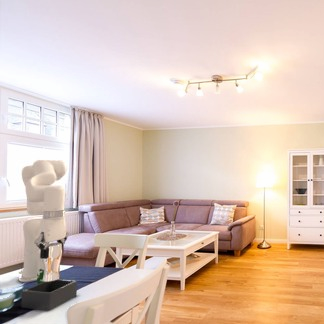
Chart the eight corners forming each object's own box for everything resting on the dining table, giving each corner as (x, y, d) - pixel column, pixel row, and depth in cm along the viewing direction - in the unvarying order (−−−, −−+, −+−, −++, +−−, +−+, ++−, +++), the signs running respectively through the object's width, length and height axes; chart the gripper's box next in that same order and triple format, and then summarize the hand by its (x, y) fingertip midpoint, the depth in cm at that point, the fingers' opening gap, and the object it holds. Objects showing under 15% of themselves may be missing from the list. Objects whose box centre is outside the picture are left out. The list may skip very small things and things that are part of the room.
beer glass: (50, 283, 114) (52, 246, 115) (36, 281, 116) (38, 245, 117) (64, 277, 121) (66, 242, 122) (51, 276, 123) (53, 242, 123)
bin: (21, 307, 113) (22, 290, 113) (50, 293, 126) (51, 278, 126) (49, 310, 110) (50, 293, 110) (76, 296, 123) (77, 280, 124)
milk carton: (60, 281, 141) (61, 242, 142) (57, 287, 133) (59, 246, 134) (39, 284, 137) (40, 243, 138) (34, 291, 129) (36, 248, 130)
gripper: (63, 211, 129) (61, 250, 128) (27, 217, 112) (25, 261, 111) (77, 212, 128) (75, 251, 127) (42, 217, 111) (40, 262, 110)
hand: (52, 255), depth 119 cm, fingers closed on beer glass, 7 cm apart
